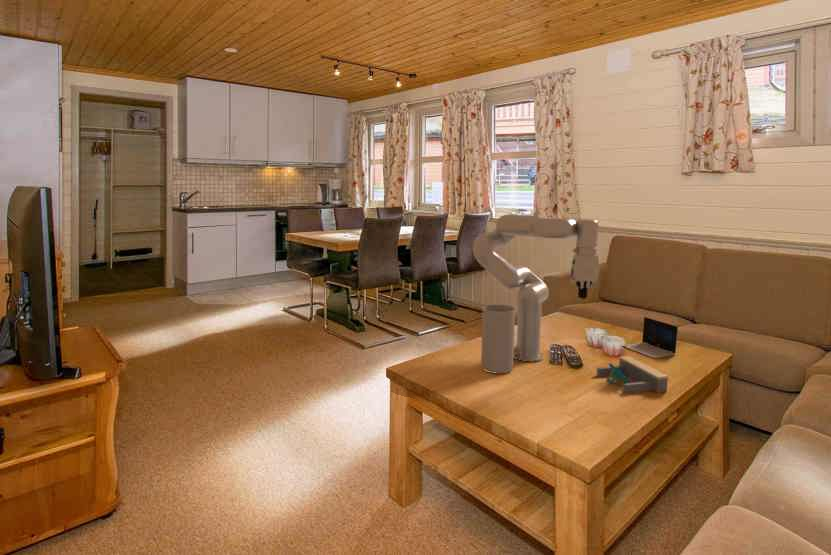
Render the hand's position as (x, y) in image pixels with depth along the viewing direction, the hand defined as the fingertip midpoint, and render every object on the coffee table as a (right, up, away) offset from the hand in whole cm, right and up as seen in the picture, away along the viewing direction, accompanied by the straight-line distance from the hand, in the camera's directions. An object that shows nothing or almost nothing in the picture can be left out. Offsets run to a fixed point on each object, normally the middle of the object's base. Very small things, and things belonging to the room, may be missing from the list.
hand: (582, 297), depth 200 cm
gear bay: (+14, -31, -10) cm, 35 cm away
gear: (+10, -31, -11) cm, 35 cm away
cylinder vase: (-33, -29, +3) cm, 44 cm away
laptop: (+37, -25, +25) cm, 52 cm away
